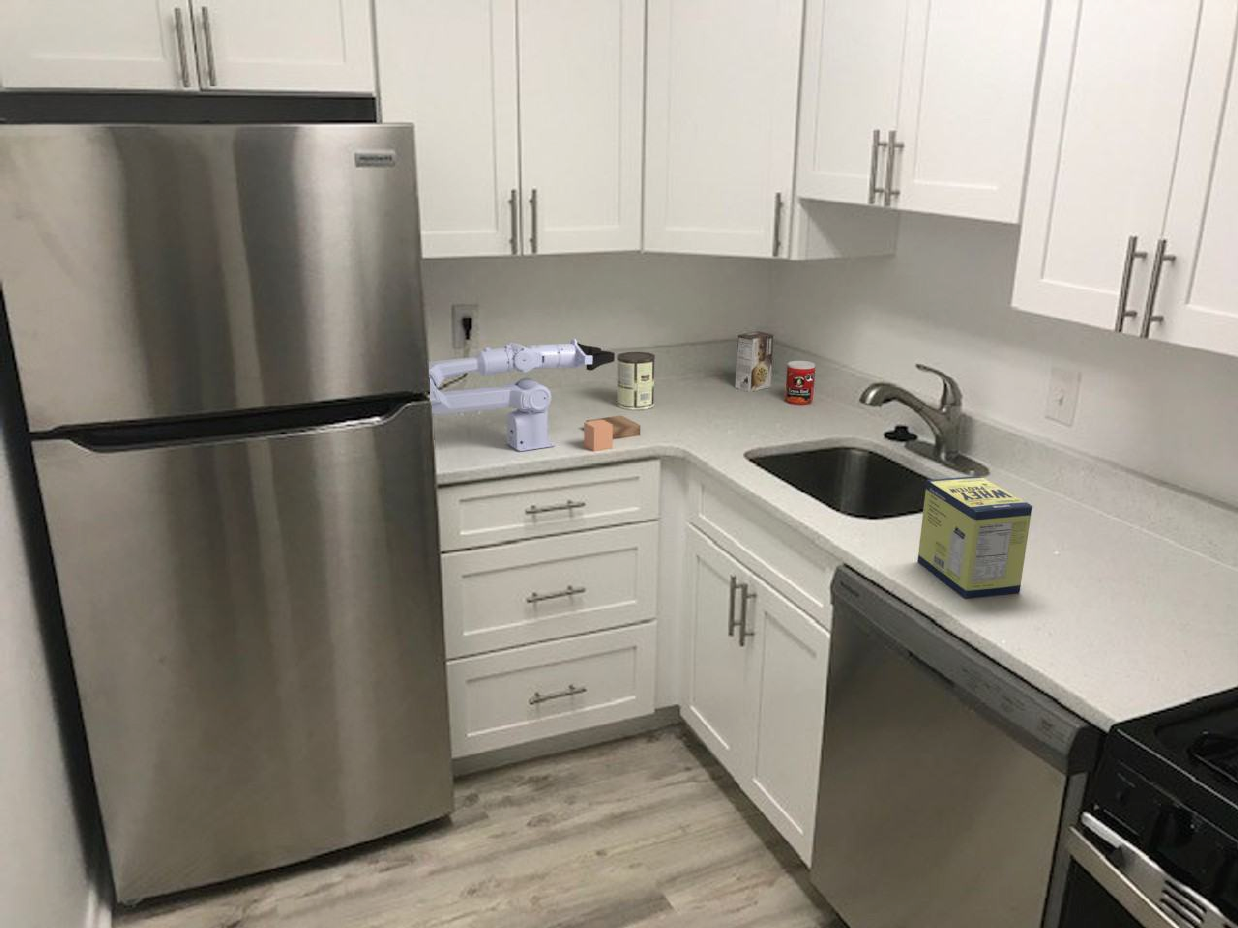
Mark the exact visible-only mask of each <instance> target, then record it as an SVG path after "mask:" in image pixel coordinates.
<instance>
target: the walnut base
mask: <svg viewBox="0 0 1238 928" xmlns="http://www.w3.org/2000/svg"><path fill="white" fill-rule="evenodd" d="M596 420H604V421H606V422H608V423H610V424H612V425H613V440H618V439H625V438H630V437H636V436H637V437H638V436H641V424H639V423H636V422H635V421H633V420H631V419H629V418H627V417H625V416H623V415H615V416H609V417H601V418H593V419H587V420H585V422H589V421H596Z"/></svg>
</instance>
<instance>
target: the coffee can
mask: <svg viewBox="0 0 1238 928" xmlns="http://www.w3.org/2000/svg"><path fill="white" fill-rule="evenodd" d="M655 359H656V356H655V354H653V353H650V352H645V351H625V352H621V353H618V354H617V407H619V408H621V409H625V410H630V411H631V410H633V411H634V410H635V411H642V410H649V409H651V408H653V407H654V406H655V404H654V403H655V402H654V401H655V400H654V399H655Z"/></svg>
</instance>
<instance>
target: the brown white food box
mask: <svg viewBox="0 0 1238 928" xmlns="http://www.w3.org/2000/svg"><path fill="white" fill-rule="evenodd" d="M773 346H774V334H772V333H768V332H765V331H760V330H759V331H758V330H757V331H753V332H752V331H751V332H747V333H742V334H738V335H737V348H736V367H735V368H736V369H735V370H736V371H735V372H736V373H735V389H737V388H738V390H742V391H745V392H748V393H752V392H756V391H761V390H764V389H768V388H771V384H772V369H773V368H772V366H773V365H772V364H773Z"/></svg>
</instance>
